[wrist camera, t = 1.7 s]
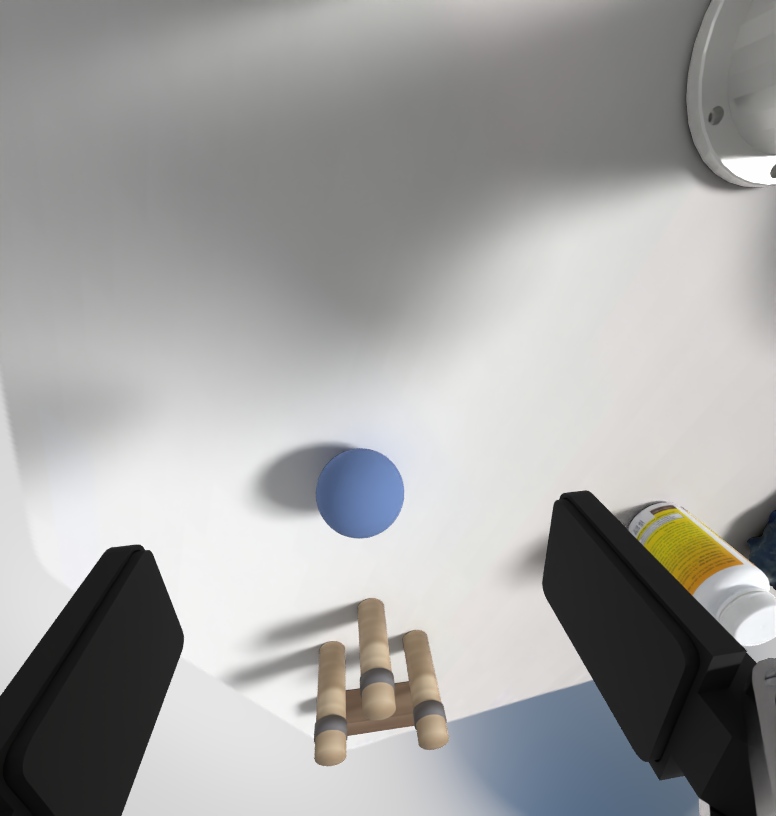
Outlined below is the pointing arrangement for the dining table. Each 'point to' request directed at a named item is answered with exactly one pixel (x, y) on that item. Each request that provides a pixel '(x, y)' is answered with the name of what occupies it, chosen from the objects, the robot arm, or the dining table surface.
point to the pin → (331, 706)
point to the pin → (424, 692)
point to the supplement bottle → (709, 571)
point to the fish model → (765, 551)
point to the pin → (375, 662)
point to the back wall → (364, 725)
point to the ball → (360, 493)
